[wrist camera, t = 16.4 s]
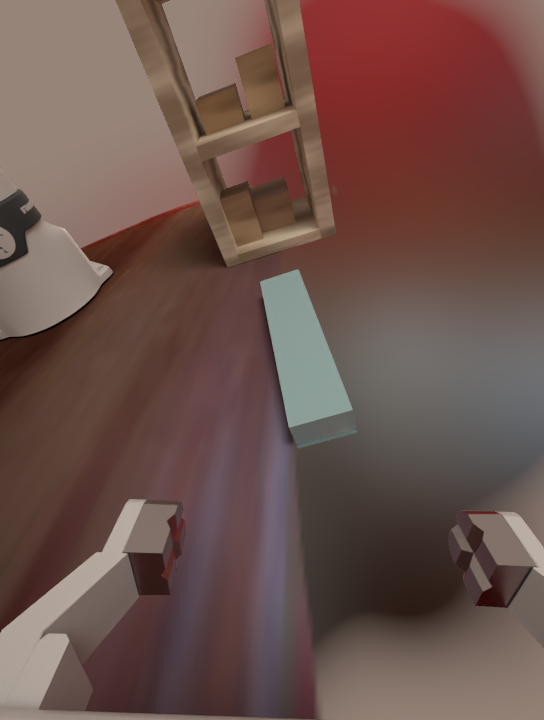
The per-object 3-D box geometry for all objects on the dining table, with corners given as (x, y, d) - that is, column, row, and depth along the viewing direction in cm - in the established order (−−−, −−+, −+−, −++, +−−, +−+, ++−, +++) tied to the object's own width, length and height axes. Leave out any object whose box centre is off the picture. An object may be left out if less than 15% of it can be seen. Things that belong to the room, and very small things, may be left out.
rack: (229, 229, 51) (136, -14, 34) (318, 201, 49) (268, -74, 32) (227, 267, 43) (100, -36, 25) (335, 234, 41) (280, -119, 23)
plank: (267, 301, 35) (259, 281, 34) (303, 289, 35) (298, 269, 33) (298, 448, 22) (288, 427, 21) (357, 432, 22) (352, 409, 20)
